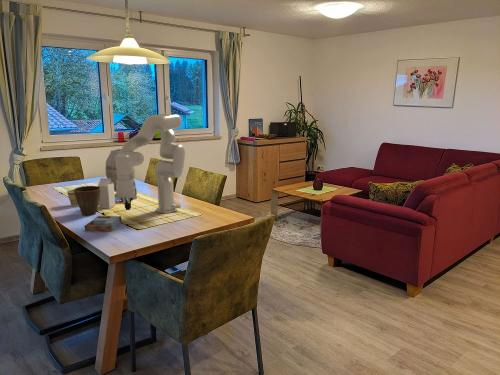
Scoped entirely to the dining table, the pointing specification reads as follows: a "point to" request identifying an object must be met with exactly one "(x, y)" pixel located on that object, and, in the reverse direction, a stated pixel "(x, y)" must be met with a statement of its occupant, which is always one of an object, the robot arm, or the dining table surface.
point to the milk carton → (106, 193)
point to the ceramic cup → (72, 198)
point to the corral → (99, 227)
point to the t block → (107, 221)
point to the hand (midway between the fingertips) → (128, 209)
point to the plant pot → (87, 199)
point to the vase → (113, 166)
